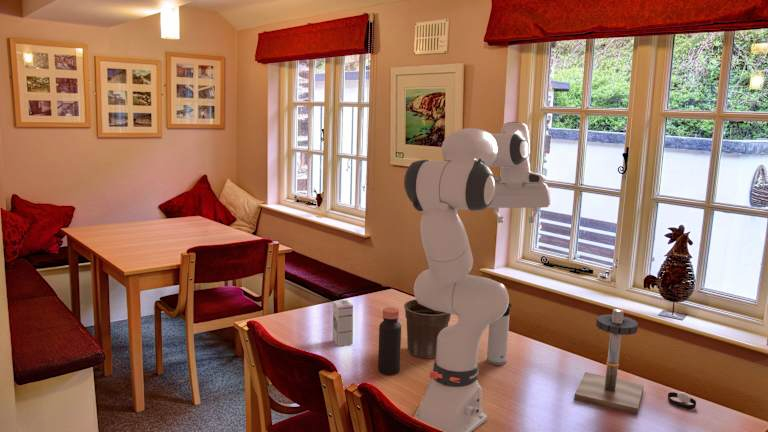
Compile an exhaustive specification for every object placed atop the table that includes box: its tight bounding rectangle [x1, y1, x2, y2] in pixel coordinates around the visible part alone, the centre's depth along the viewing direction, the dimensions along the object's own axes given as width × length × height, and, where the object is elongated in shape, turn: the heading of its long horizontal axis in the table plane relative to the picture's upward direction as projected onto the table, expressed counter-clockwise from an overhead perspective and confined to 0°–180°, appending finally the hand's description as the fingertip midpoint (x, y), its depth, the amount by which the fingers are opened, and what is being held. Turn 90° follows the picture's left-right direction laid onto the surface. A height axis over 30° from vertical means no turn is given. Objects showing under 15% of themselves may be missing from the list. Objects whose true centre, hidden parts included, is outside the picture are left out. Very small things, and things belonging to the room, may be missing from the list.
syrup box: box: [332, 299, 354, 347], centre depth 218 cm, size 6×6×14 cm
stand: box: [573, 371, 645, 416], centre depth 186 cm, size 17×17×2 cm
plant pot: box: [403, 298, 452, 359], centre depth 212 cm, size 16×16×16 cm
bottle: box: [377, 306, 402, 376], centre depth 196 cm, size 7×7×20 cm
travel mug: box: [486, 302, 512, 366], centre depth 206 cm, size 6×7×20 cm
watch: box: [667, 391, 697, 410], centre depth 182 cm, size 8×5×4 cm, turn 44°
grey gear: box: [595, 313, 639, 336], centre depth 182 cm, size 11×11×2 cm
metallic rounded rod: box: [605, 308, 625, 391], centre depth 184 cm, size 3×3×24 cm
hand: (515, 222), depth 193 cm, fingers open, 8 cm apart
